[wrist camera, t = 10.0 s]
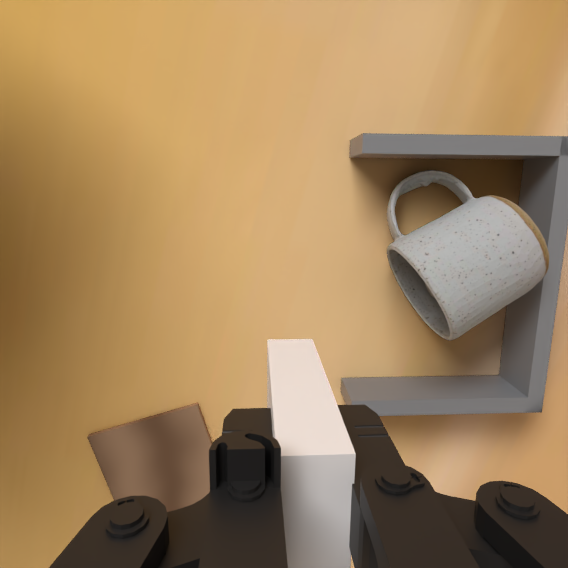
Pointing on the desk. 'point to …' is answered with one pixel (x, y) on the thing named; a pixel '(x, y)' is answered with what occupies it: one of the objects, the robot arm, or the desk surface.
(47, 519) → the desk surface
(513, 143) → the grey c-shaped bracket
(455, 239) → the ceramic mug
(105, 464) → the walnut coaster
